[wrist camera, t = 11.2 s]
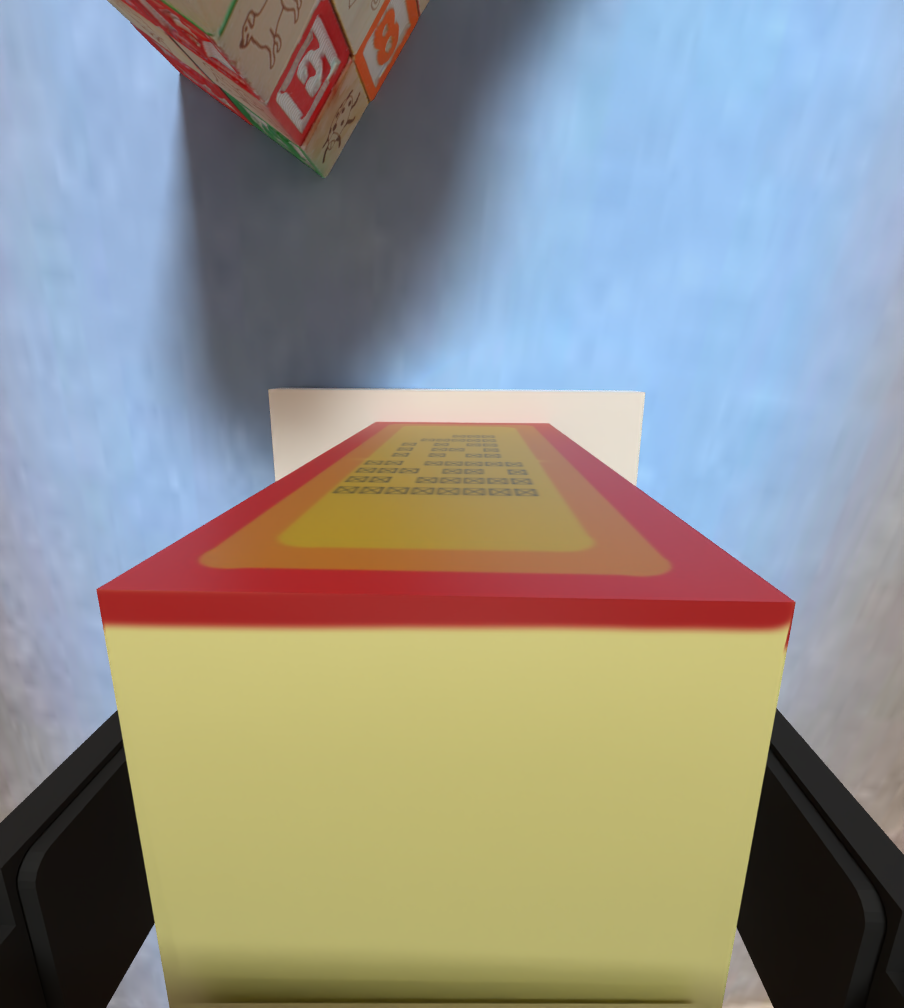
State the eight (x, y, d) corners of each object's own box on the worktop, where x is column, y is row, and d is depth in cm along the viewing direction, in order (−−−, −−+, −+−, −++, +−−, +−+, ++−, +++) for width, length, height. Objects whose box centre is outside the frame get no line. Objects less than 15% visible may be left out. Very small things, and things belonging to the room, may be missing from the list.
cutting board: (633, 390, 21) (645, 392, 20) (608, 662, 24) (617, 680, 23) (282, 387, 21) (268, 389, 20) (300, 655, 24) (290, 673, 23)
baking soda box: (375, 421, 20) (67, 607, 5) (548, 423, 20) (821, 620, 5) (382, 647, 23) (192, 1262, 7) (537, 650, 22) (689, 1289, 7)
